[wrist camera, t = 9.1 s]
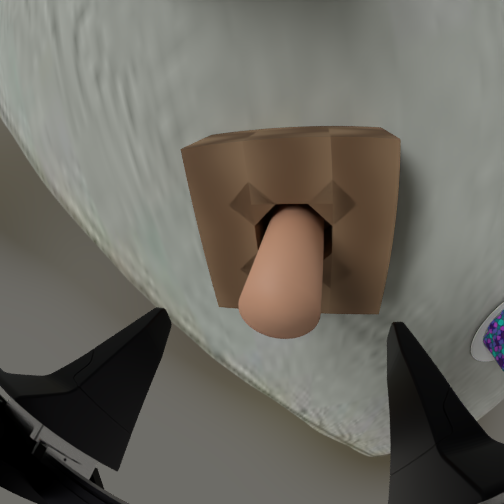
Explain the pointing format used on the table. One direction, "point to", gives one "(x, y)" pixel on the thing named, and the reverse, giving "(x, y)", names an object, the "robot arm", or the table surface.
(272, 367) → the table surface
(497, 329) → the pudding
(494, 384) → the table surface
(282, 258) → the pin
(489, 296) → the table surface
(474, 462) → the robot arm
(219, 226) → the bore block
